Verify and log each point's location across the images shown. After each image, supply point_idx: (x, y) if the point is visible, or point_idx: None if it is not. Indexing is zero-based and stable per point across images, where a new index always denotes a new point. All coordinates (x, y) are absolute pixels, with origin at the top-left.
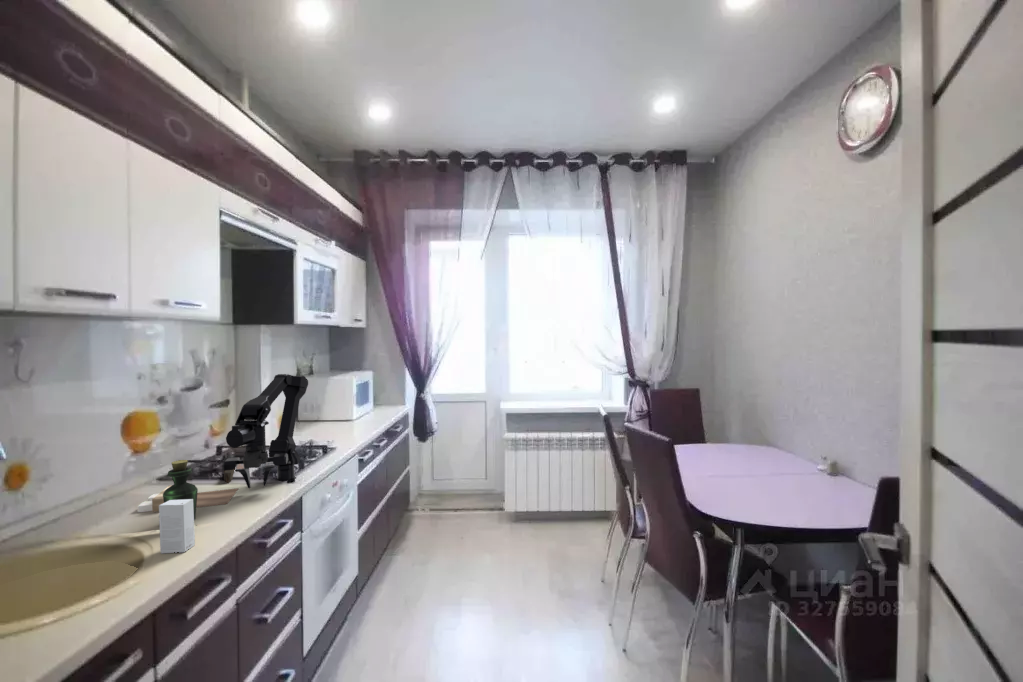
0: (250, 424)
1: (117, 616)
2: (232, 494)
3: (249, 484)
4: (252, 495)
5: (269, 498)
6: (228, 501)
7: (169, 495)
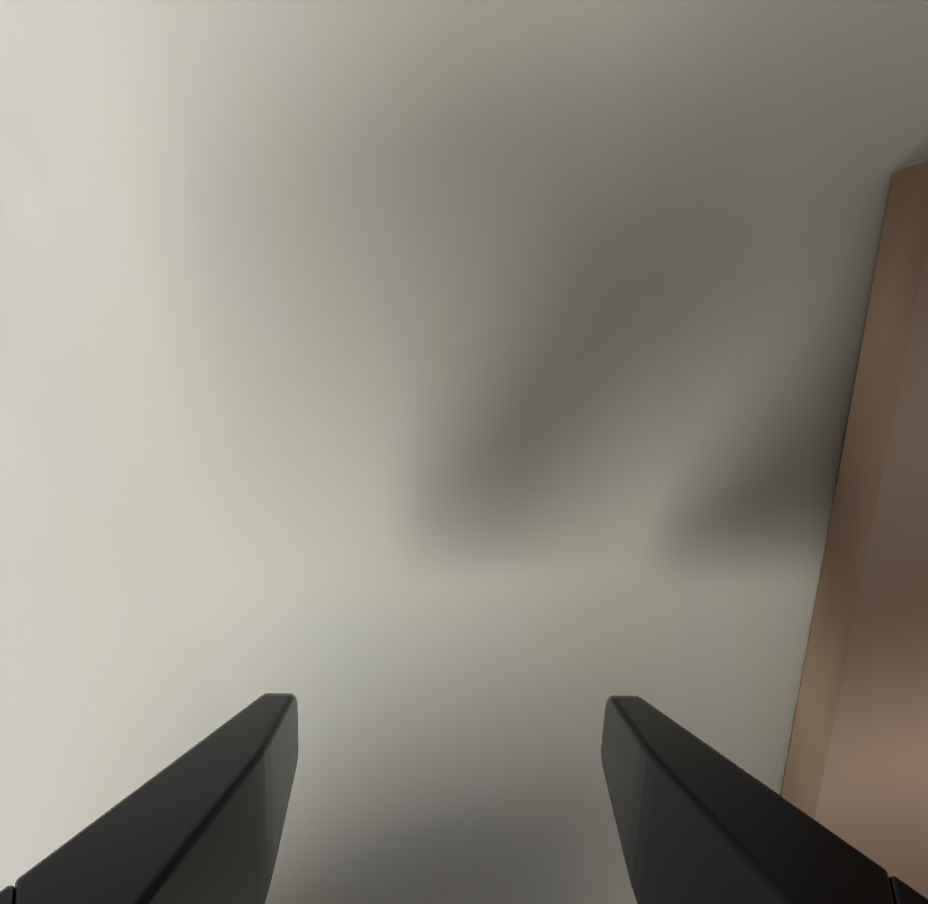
0: None
1: None
2: (861, 723)
3: (641, 750)
4: (530, 679)
5: (202, 386)
6: (920, 322)
7: None
